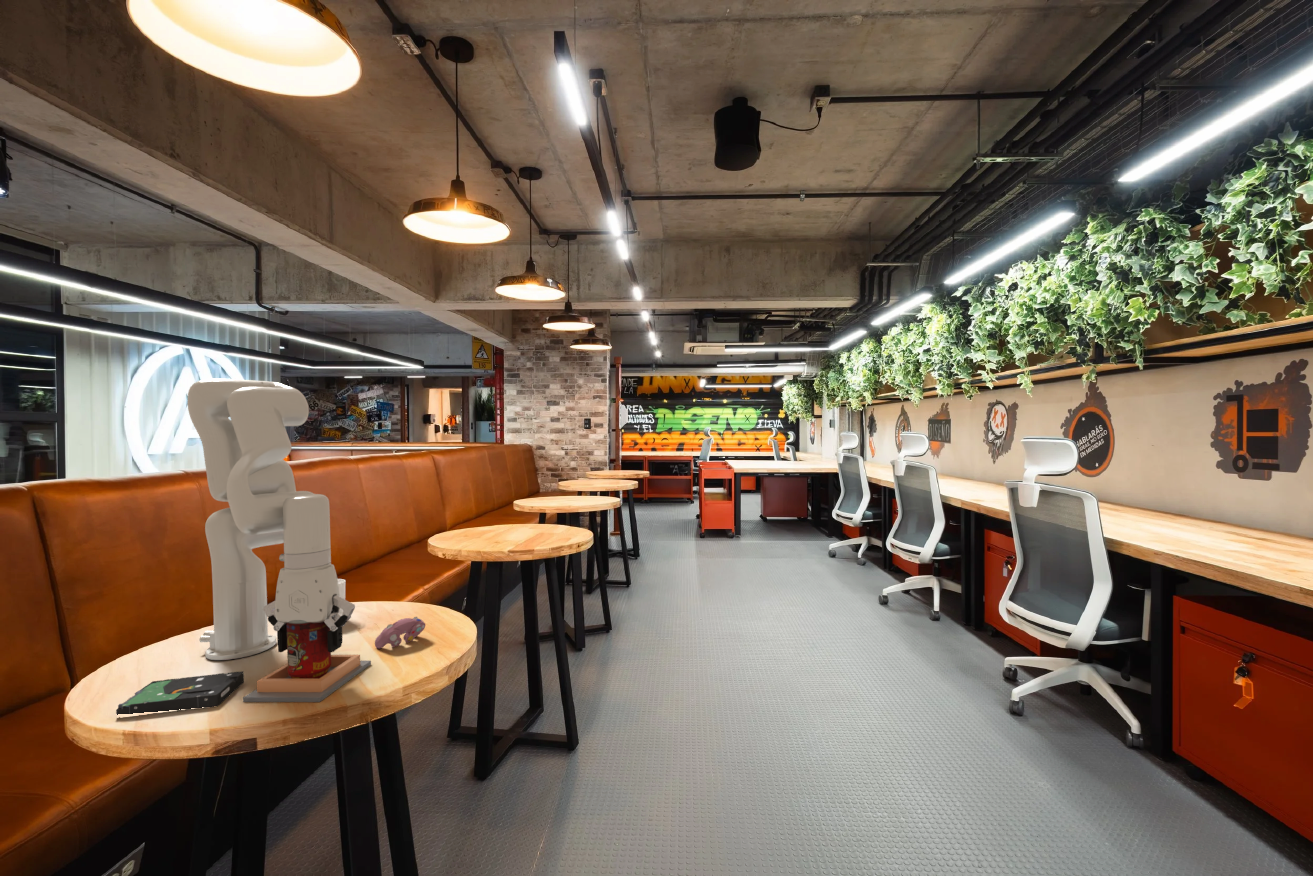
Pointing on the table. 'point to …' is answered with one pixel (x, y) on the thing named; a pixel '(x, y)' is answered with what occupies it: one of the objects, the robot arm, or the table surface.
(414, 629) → the video game controller
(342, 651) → the table surface
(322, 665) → the soda can
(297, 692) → the cradle jig
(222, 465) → the robot arm
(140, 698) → the disk drive
